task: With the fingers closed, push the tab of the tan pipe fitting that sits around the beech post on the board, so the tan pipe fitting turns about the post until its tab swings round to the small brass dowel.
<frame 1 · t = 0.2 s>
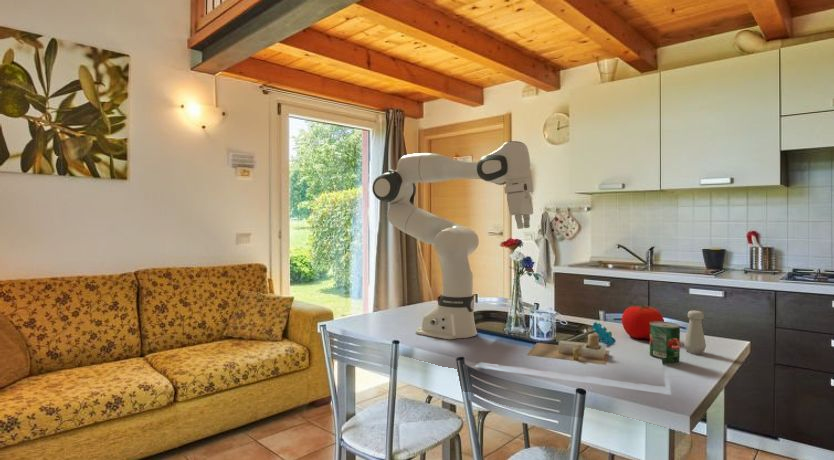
hand: (523, 228, 161), 39 cm above the table, tool pointing down, fingers open, 8 cm apart
post board: (593, 360, 140), on the table
tomato: (642, 338, 166), on the table
gear: (604, 346, 155), on the table
tan pipe fitting: (570, 352, 143), point 1 cm above the table, touching post board
canned tomato: (664, 361, 139), on the table
salt shaker: (695, 353, 148), on the table
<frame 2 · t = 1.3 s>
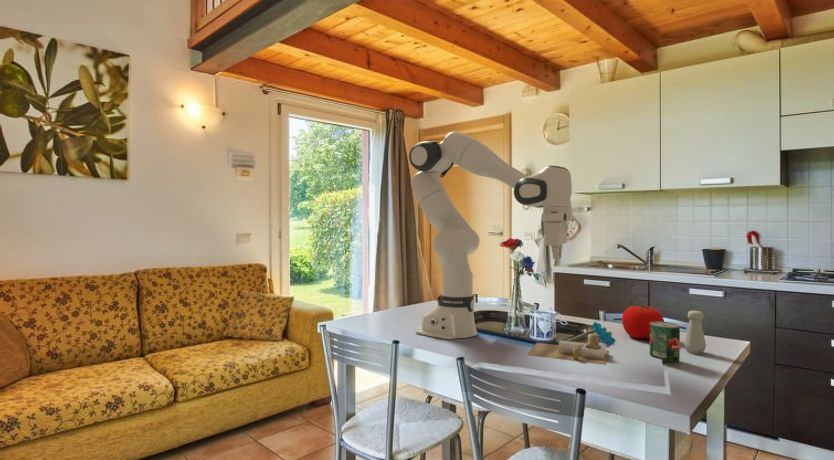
hand: (557, 258, 153), 29 cm above the table, tool pointing down, fingers open, 3 cm apart
nothing on the table moved.
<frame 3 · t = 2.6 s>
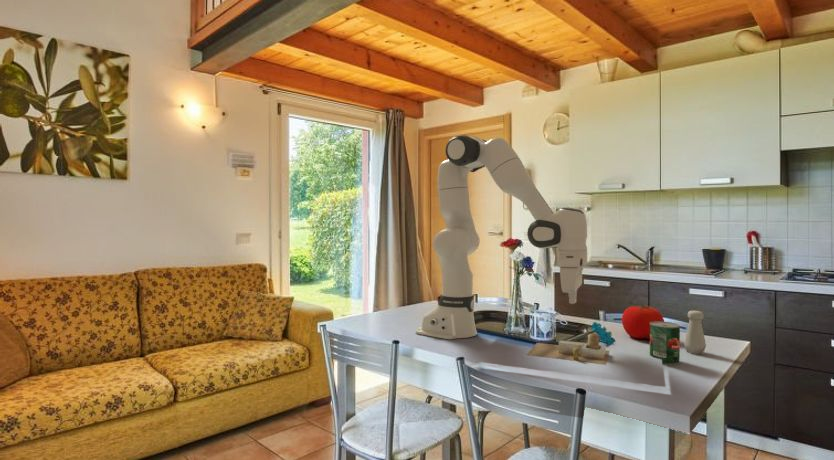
hand: (572, 303, 148), 15 cm above the table, tool pointing down, fingers closed
nothing on the table moved.
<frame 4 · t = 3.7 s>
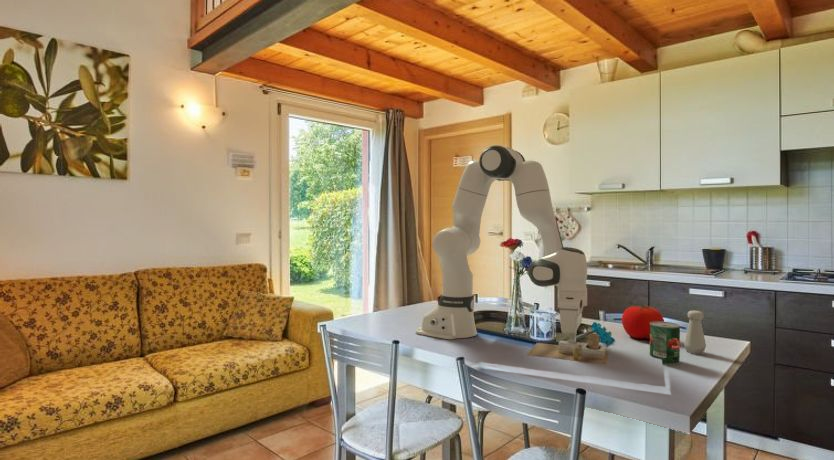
hand: (572, 342, 149), 3 cm above the table, tool pointing down, fingers closed
nothing on the table moved.
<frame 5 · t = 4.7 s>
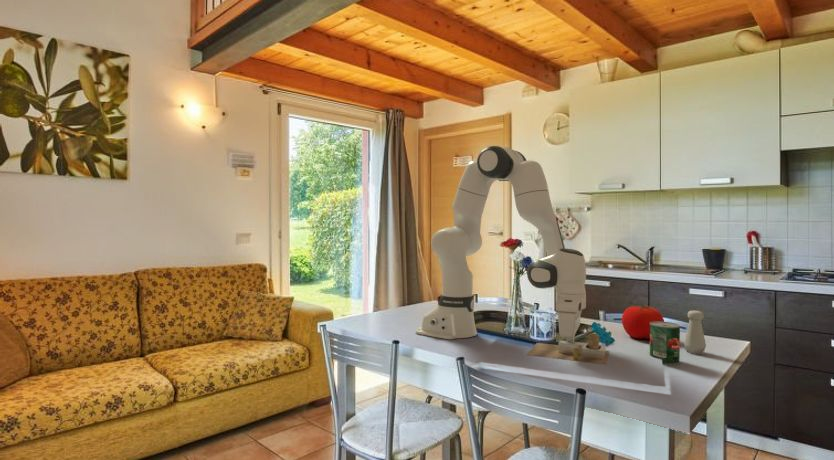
hand: (570, 346, 146), 3 cm above the table, tool pointing down, fingers closed
tan pipe fitting: (570, 352, 143), point 2 cm above the table, touching gripper, post board
everything else where it was.
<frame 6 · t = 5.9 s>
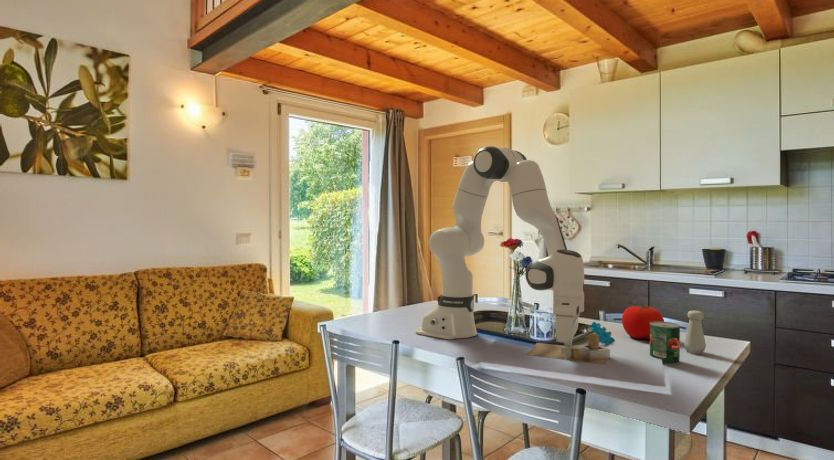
hand: (568, 350, 141), 3 cm above the table, tool pointing down, fingers closed
tan pipe fitting: (573, 357, 138), point 1 cm above the table, touching gripper, post board
everything else where it was.
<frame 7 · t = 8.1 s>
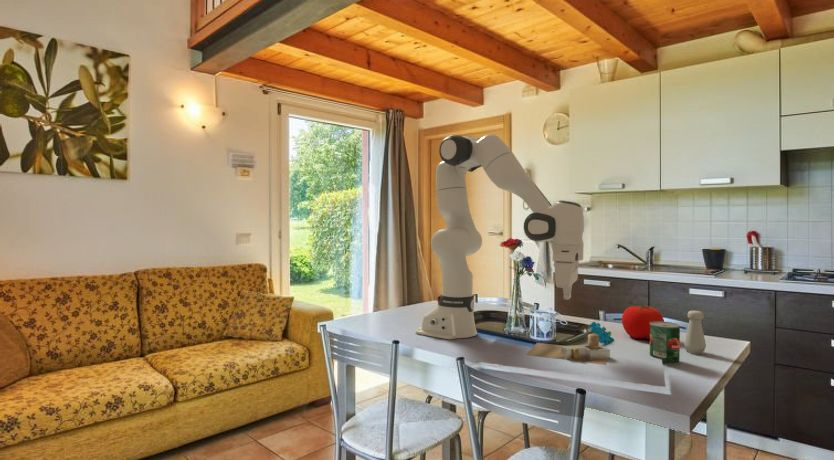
hand: (567, 298, 144), 17 cm above the table, tool pointing down, fingers closed
tan pipe fitting: (573, 357, 138), point 1 cm above the table, touching post board
everything else where it was.
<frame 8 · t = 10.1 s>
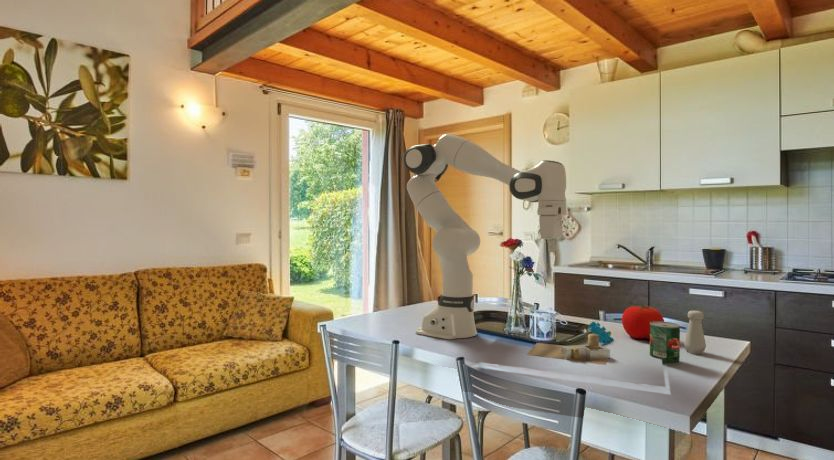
hand: (552, 251, 155), 31 cm above the table, tool pointing down, fingers closed
nothing on the table moved.
at the end: tan pipe fitting 0.2 cm from the target spot on the post board, point 1.5 cm above the post board's base; tan pipe fitting tilted 0°; the gripper is holding nothing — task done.
